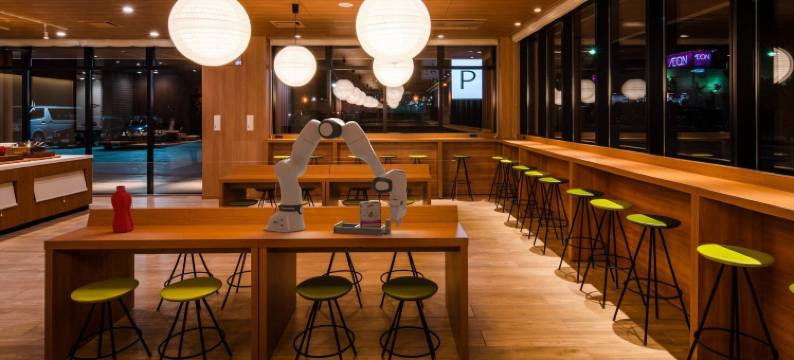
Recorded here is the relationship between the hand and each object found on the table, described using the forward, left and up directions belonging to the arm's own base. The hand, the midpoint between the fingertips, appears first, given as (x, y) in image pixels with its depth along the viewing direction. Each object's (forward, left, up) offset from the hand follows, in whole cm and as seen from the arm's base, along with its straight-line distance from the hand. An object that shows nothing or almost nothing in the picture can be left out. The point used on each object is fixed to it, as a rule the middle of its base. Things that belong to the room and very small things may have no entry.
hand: (398, 226), depth 278 cm
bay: (-21, 0, -4) cm, 21 cm away
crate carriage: (-14, 0, -4) cm, 14 cm away
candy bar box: (-16, 0, -4) cm, 16 cm away
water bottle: (-146, -32, -4) cm, 149 cm away
